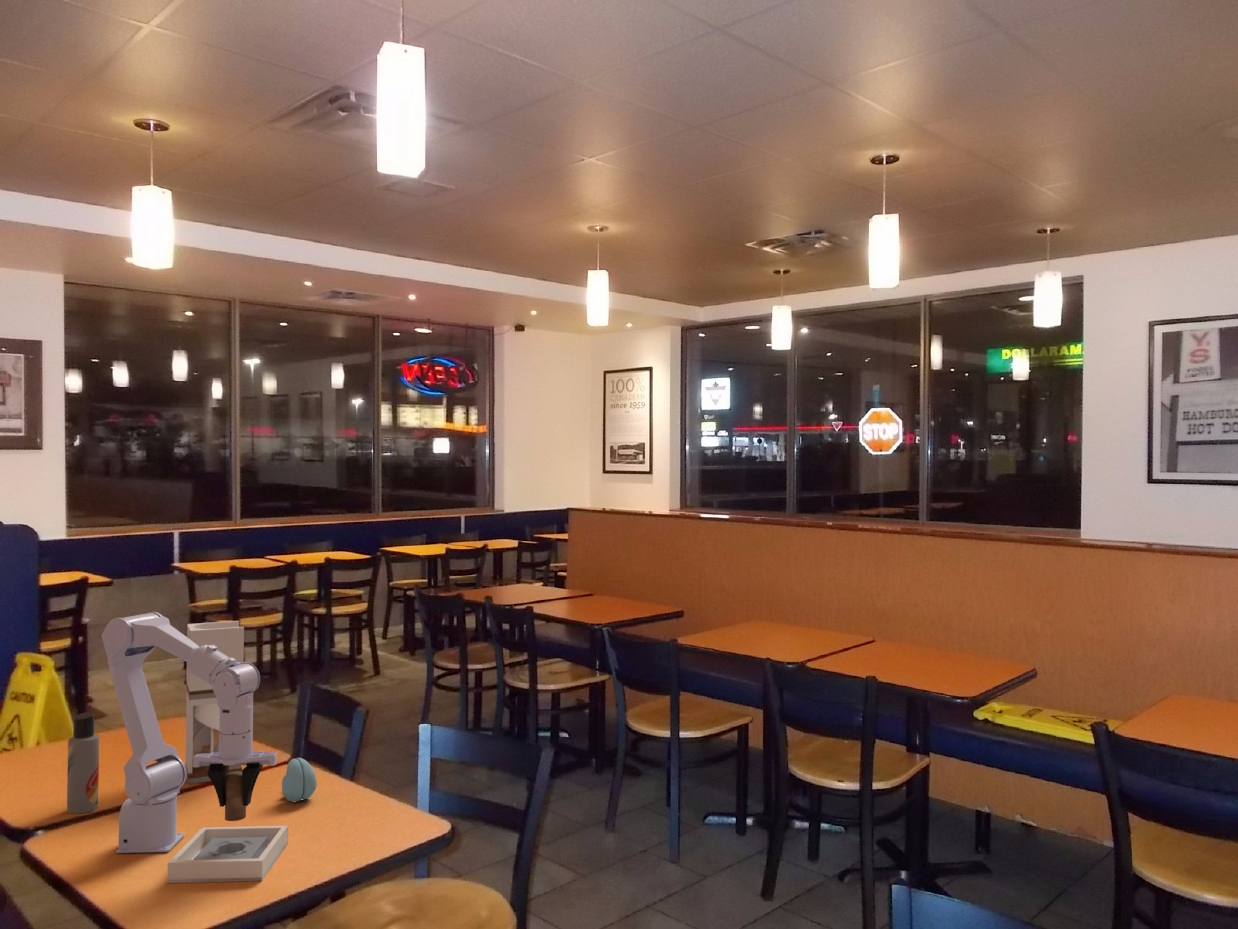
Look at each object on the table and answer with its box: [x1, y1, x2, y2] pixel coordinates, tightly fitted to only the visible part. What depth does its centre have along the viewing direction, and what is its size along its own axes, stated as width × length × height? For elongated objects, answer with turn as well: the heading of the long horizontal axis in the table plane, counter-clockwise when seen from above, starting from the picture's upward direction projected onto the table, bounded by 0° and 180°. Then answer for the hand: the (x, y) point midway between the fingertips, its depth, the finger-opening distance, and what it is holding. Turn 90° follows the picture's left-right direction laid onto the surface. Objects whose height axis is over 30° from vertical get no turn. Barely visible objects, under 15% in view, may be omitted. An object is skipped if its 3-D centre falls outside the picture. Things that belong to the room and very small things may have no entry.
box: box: [167, 825, 289, 884], centre depth 167 cm, size 16×16×4 cm
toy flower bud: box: [281, 757, 318, 803], centre depth 201 cm, size 7×9×12 cm
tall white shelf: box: [184, 620, 245, 785], centre depth 216 cm, size 11×11×35 cm
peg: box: [224, 771, 247, 822], centre depth 169 cm, size 4×4×8 cm
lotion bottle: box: [66, 712, 100, 815], centre depth 193 cm, size 6×6×20 cm
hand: (235, 804), depth 169 cm, fingers closed on peg, 4 cm apart
